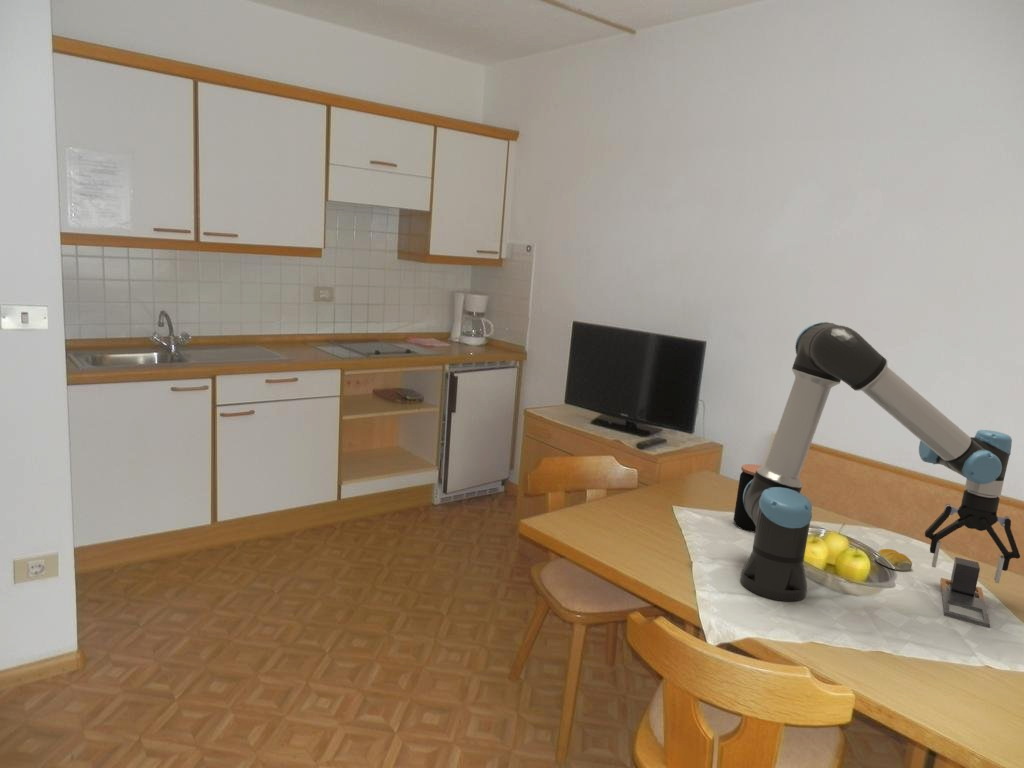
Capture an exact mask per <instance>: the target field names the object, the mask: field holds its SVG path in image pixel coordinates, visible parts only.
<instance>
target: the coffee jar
mask: <svg viewBox="0 0 1024 768" xmlns="http://www.w3.org/2000/svg"><path fill="white" fill-rule="evenodd" d="M762 466H763V465H761V464H751V463H750V464H743V465H741V471H742V472H741V473H740V474H739V482H738V488H737V494H736V500H735V506H734V514H733V522H734V524H735V526H736V525H737V526H736V527H737V528H739V527H740V529H741V528H742V530H744V529H745V530H744V531H747V530H749V531H748V532H751V531H756V525H755V524H754V522H753V520H752V519H751V518H750V517H749V515H748V513H747V512H746V510H745V507H744V503H743V493H744V489H745V487H746V486H747V484H748V483H749V482H750V481H751V480H753V478H754V476H755V473H756V470H757V469H758V468H760V467H762Z"/></svg>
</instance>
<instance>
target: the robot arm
mask: <svg viewBox="0 0 1024 768" xmlns="http://www.w3.org/2000/svg"><path fill="white" fill-rule="evenodd" d="M794 348H795V349H794V350H795V353H796V355H795V358H794V362H793V365H792V367H791V370H792V372H793V375H794V381H793V384H792V387H791V390H790V392H789V395H788V398H787V401H786V403H785V407H784V409H783V411H782V412H783V413H782V415H781V418H780V420H779V424H778V425H777V426H778V427H777V430H776V433H775V435H774V438H773V441H772V443H771V446H770V449H769V452H768V455H767V458H766V461H765V463H764V465H761V466H762V467H760V468H758V469H757V470H756V473H755V476H754V478H753V480H751V481H750V482H749V483H748V484H747V486H746V487H745V489H744V493H743V503H744V507H745V510H746V512H747V513H748V515H749V517H750V518H751V519H752V520H753V522H754V524H755V525H756V531H755V532H754V538H753V544H752V550H751V553H750V554H749V556H748V558H747V560H746V562H745V564H744V565H743V567H742V569H741V572H740V573H741V574H740V579H739V580H740V583H741V584H742V586H743V587H744V588H745V589H746V590H749V591H750V592H752V593H754V594H756V595H759V596H761V597H764V598H768V599H770V600H771V599H772V600H776V601H784V602H796V601H800V600H803V599H805V598H806V596H807V591H808V582H807V578H806V572H805V566H804V558H805V554H806V549H807V548H806V547H807V543H808V538H809V537H808V535H809V530H810V525H811V521H812V519H813V516H812V514H813V512H812V511H813V504H812V502H811V500H810V499H809V497H807V496H806V494H803V493H801V491H802V488H803V483H802V481H801V479H800V475H801V471H802V469H803V467H804V464H805V461H806V458H807V455H808V454H809V453H808V452H809V449H810V447H811V444H812V441H813V439H814V437H815V436H814V435H815V433H816V430H817V427H818V426H819V422H820V420H821V417H822V413H823V412H824V408H825V405H826V402H827V400H828V399H829V398H828V397H829V394H830V391H831V389H832V388H834V387H835V386H837V385H840V384H841V382H844V384H846V385H848V387H850V388H851V389H852V390H853V391H856V392H857V391H861V392H862V393H864V394H866V396H868V397H869V398H870V399H871V400H873V402H875V403H876V404H877V405H878V406H879V407H881V408H882V409H883V410H884V411H886V413H888V414H889V415H890V416H892V418H893V419H895V420H896V421H897V422H898V423H900V424H901V425H902V426H903V427H904V428H905V429H906V430H908V431H909V432H910V433H911V434H913V435H914V436H915V437H916V438H917V439H919V440H920V441H919V444H918V454H919V457H920V459H921V460H922V462H924V463H928V464H929V463H930V464H933V465H941V466H943V467H946V468H947V469H949V470H951V471H953V472H954V473H957V474H958V475H960V476H963V478H965V479H966V482H965V486H964V488H965V490H963V494H962V499H961V503H960V506H959V507H955V506H952V505H951V504H950V503H947V504H946V505H945V507H944V510H943V512H942V513H941V514H939V516H938V517H937V518H936V519H935V520H934V521H933V523H931V525H929V526H928V527H927V528H926V530H925V531H924V536H925V537H926V538H927V539H930V540H931V541H930V546H929V553H930V554H931V553H932V554H933V557H932V561H931V567H932V568H936V567H937V562H938V558H939V553H940V549H941V544H942V543H941V540H942V539H944V538H945V537H947V536H949V535H950V534H952V533H953V532H955V531H956V530H959V529H960V528H963V527H966V529H971V530H976V531H979V532H983V531H986V533H988V535H989V536H990V537H991V538H992V540H993V542H994V543H995V544H996V546H997V547H998V549H999V550H1000V552H1001V554H999V556H998V561H997V565H996V569H995V573H994V574H995V575H994V578H993V580H994V583H996V584H998V585H999V584H1000V580H1001V576H1002V571H1004V572H1007V571H1008V569H1009V565H1010V560H1011V559H1020V558H1021V555H1020V551H1019V548H1018V546H1017V543H1016V539H1015V538H1014V535H1013V532H1012V529H1011V527H1012V520H1011V519H1010V517H1009V516H1004V517H1003V516H998V515H997V513H998V508H999V503H1000V497H999V496H1001V495H1002V492H1003V491H1002V490H1003V486H1004V480H1005V476H1006V472H1007V468H1008V464H1009V459H1010V456H1011V452H1012V444H1013V439H1012V437H1011V436H1010V435H1009V434H1007V433H1004V432H1000V431H996V430H991V429H989V430H988V429H979V430H977V431H976V433H975V435H974V437H971V436H970V435H968V434H967V433H966V432H965V431H964V430H963V429H961V428H960V427H959V426H958V425H956V423H954V422H953V421H952V420H951V419H949V418H948V417H947V416H946V415H945V414H944V413H943V412H941V411H940V410H939V409H938V408H936V407H935V406H934V405H933V404H932V403H931V402H930V401H928V399H926V398H925V397H924V396H923V395H921V394H920V393H919V392H918V391H916V390H915V389H914V388H913V387H912V386H911V385H909V383H907V382H906V381H905V380H904V379H902V378H901V377H900V375H898V374H897V373H896V372H894V371H893V370H892V369H891V368H890V367H888V360H887V359H886V358H885V357H884V356H883V355H882V354H881V353H879V351H878V350H877V349H875V348H874V347H873V346H872V345H871V344H870V343H869V342H868V341H867V340H866V339H865V338H864V337H863V336H861V335H860V334H859V333H858V332H857V331H856V330H854V329H852V328H851V327H849V326H846V325H839V324H836V323H833V322H828V321H826V322H825V321H824V322H817V323H813V324H811V325H808V326H807V327H805V328H804V329H803V330H802V331H801V332H800V333H799V335H798V336H797V338H796V340H795V347H794ZM955 513H956V514H957V515H958V517H959V518H957V519H956V520H955V521H954V522H952V523H950V524H949V525H947V526H945V527H944V528H942V529H941V530H939V531H937V530H938V528H940V527H941V526H942V524H943V523H945V522H946V520H947V519H948V518H949V517H950V516H953V515H955ZM996 523H999V525H1000V526H1001V527H1003V529H1004V532H1005V534H1006V538H1007V540H1008V543H1009V546H1010V549H1011V551H1009V550H1008V549H1007V547H1006V546H1005V545H1004V543H1003V541H1002V539H1000V537H999V535H998V534H997V533H996V531H995V530H994V528H993V526H994V525H995V524H996ZM936 531H937V532H936Z"/></svg>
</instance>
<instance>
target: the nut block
mask: <svg viewBox="0 0 1024 768" xmlns="http://www.w3.org/2000/svg"><path fill="white" fill-rule="evenodd" d="M980 570H981V568H980V563H979V562H977V561H973V560H970V559H967V558H966V559H965V558H962V557H955V556H954V562H953V567H952V571H951V576H950V580H951V581H950V585H949V591H952V592H956V593H960V594H964V595H968V596H972V597H975V595H976V591H975V590H976V587H977V584H978V581H979V577H980V576H979V574H980Z"/></svg>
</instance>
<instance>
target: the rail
mask: <svg viewBox="0 0 1024 768" xmlns="http://www.w3.org/2000/svg"><path fill="white" fill-rule="evenodd" d="M950 581H951V579H948V578H944V577H940V591H941V599H942V609H943V615H944V616H945V617H949V618H952V619H956V620H960V621H964V622H967V623H972V624H975V625H979V626H982V627H986V628H991V621H990V615H989V614H988V613H989V612H988V609H987V606H986V601H985V597H984V594H983V593H984V592H983V589H982V587H979V586H976V590H975V593H976V594H977V597H975V596H974V597H972V596H968V595H964V594H960V593H956V592H952V591H950V590H947V585H949V586H950ZM950 605H953V606H956V607H960V608H964V609H968V610H972V611H975V612H980V613H981V616H982V619H981V618H976V617H972V616H970V615H967V614H966V615H965V614H962V613H957V612H955V611H951V610H950Z"/></svg>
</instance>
